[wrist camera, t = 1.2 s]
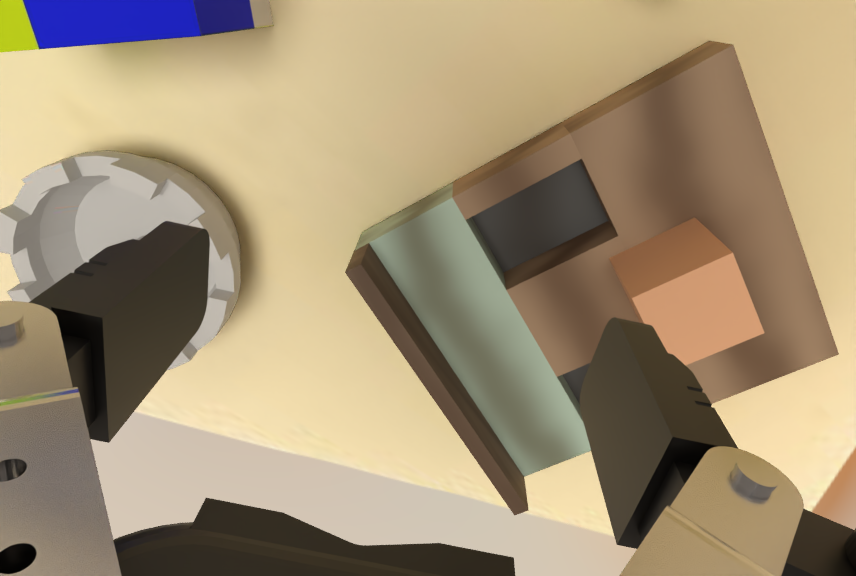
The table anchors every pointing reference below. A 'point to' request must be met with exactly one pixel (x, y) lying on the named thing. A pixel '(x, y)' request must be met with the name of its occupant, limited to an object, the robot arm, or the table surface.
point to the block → (688, 291)
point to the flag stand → (116, 225)
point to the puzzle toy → (122, 21)
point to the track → (586, 261)
